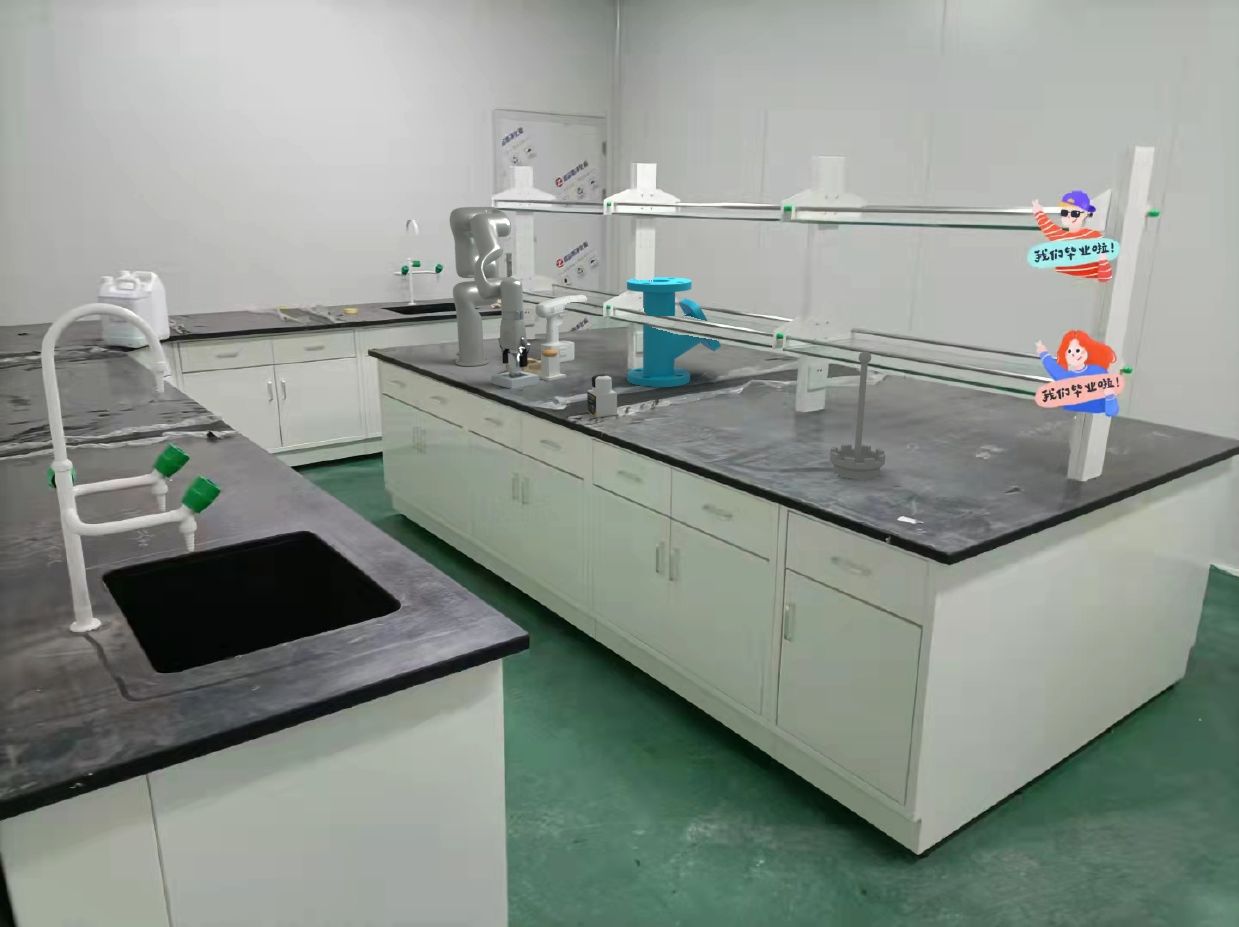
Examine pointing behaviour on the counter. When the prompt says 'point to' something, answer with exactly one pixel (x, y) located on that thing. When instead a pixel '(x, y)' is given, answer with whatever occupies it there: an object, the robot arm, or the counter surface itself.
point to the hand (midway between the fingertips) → (515, 364)
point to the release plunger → (549, 352)
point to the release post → (550, 368)
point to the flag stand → (858, 441)
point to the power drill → (557, 325)
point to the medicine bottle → (602, 397)
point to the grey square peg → (514, 365)
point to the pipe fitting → (665, 333)
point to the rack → (530, 366)
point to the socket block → (515, 380)
